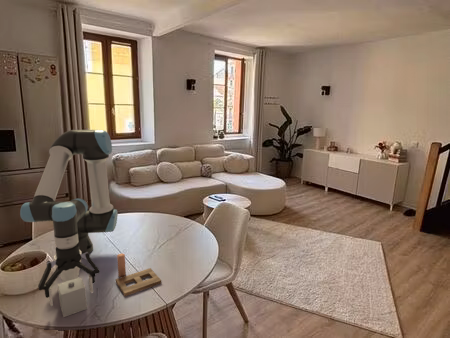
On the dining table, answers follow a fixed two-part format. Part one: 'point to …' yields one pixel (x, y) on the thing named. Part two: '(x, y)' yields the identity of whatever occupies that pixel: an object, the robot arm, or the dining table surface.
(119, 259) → the peg
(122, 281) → the board
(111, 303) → the dining table surface
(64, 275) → the cup
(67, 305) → the block
